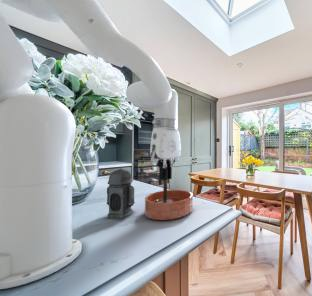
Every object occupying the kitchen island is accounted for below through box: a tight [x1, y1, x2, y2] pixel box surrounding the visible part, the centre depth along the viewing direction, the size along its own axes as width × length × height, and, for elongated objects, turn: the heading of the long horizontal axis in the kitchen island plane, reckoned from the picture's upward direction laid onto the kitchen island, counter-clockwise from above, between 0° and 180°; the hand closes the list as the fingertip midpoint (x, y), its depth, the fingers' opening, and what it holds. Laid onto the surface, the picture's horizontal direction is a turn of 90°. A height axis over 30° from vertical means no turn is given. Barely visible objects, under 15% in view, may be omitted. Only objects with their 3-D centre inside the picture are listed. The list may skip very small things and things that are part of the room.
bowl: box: [144, 189, 194, 221], centre depth 57 cm, size 15×15×6 cm
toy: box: [106, 168, 135, 220], centre depth 54 cm, size 8×6×15 cm
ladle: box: [157, 163, 173, 203], centre depth 58 cm, size 5×5×15 cm
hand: (165, 178), depth 58 cm, fingers closed on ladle, 1 cm apart
